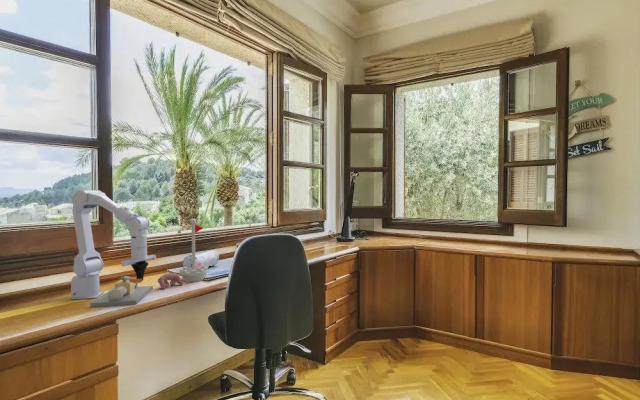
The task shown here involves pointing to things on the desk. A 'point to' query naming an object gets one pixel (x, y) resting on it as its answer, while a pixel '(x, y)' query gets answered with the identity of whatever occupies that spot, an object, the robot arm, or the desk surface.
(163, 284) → the pink animal figurine
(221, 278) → the desk surface
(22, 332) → the desk surface
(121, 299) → the valve board
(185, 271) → the flag stand
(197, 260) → the pencil case
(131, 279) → the valve lever
